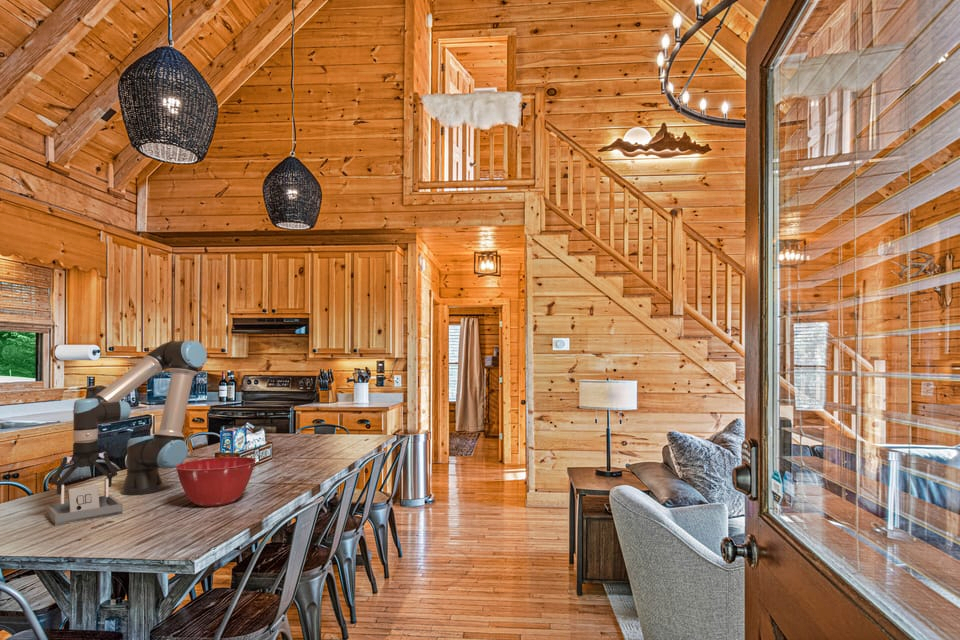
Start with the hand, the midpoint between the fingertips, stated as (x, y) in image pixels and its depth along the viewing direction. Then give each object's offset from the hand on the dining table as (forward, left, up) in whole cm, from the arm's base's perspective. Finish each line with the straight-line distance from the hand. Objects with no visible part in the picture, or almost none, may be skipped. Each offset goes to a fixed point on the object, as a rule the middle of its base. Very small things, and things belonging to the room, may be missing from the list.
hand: (84, 499), depth 214 cm
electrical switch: (+1, 0, -4) cm, 4 cm away
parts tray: (0, 0, -5) cm, 5 cm away
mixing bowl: (-40, +19, -6) cm, 45 cm away
